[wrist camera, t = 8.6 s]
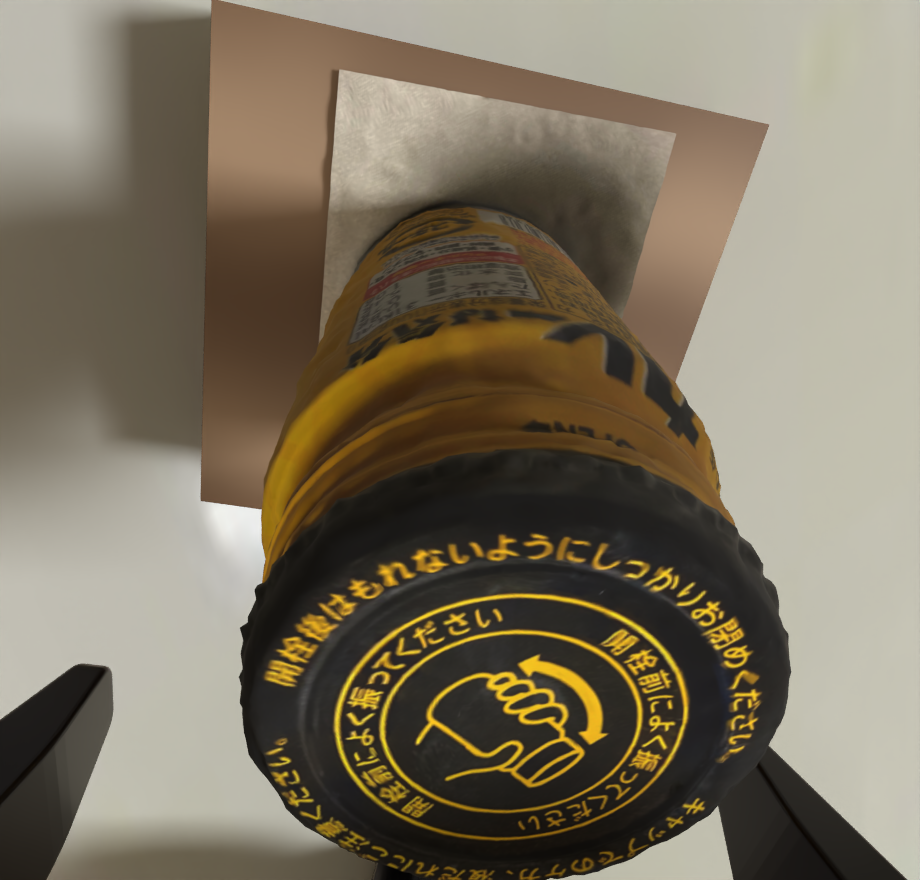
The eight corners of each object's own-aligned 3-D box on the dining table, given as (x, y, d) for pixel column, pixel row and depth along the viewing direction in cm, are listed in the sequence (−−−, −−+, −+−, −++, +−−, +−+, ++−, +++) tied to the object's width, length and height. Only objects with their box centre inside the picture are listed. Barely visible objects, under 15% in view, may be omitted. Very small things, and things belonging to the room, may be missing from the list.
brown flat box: (584, 487, 24) (611, 557, 20) (237, 435, 22) (200, 500, 19) (704, 118, 18) (769, 124, 15) (257, 17, 17) (211, -2, 13)
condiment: (312, 428, 18) (140, 927, 7) (340, 69, 14) (65, 4, 3) (577, 462, 19) (774, 956, 8) (672, 132, 15) (1281, 240, 4)
